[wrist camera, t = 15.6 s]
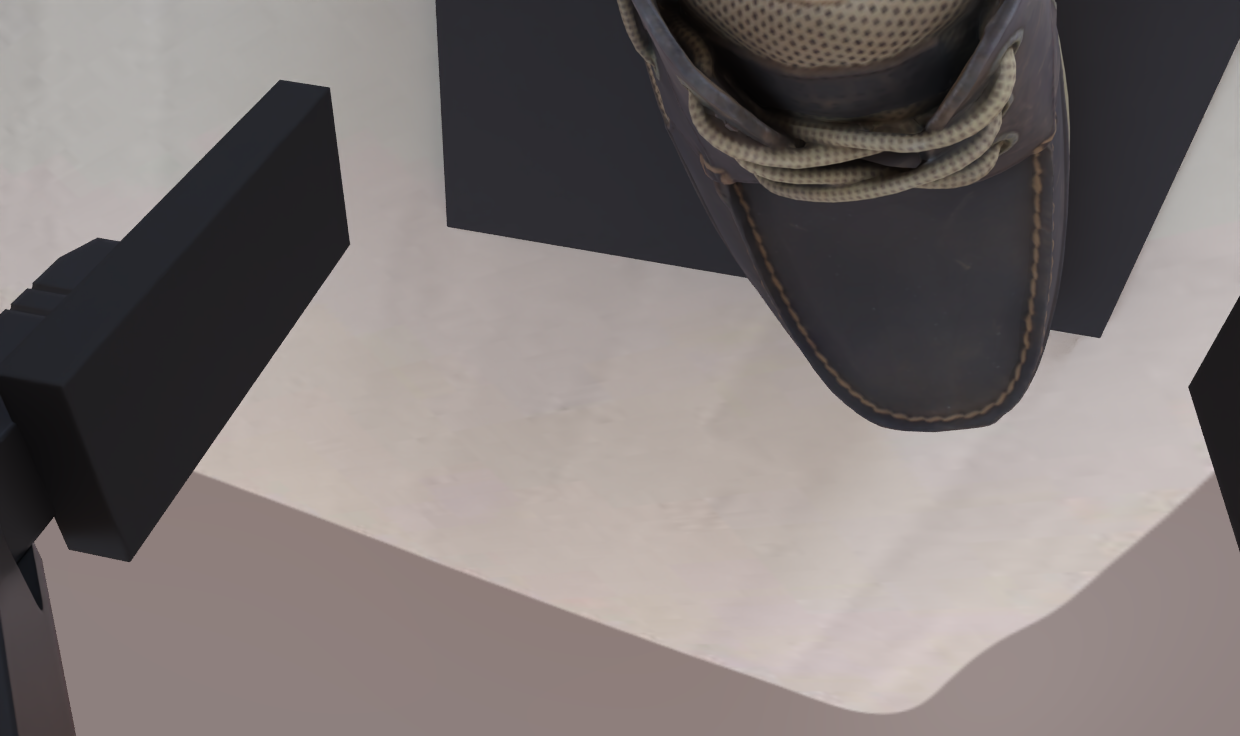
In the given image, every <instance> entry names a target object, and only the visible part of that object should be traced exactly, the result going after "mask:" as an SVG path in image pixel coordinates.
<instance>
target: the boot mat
mask: <svg viewBox="0 0 1240 736" xmlns="http://www.w3.org/2000/svg"><path fill="white" fill-rule="evenodd" d="M1055 2H1056V4H1057V18H1056V26H1057V30H1058V36H1059V40H1060V45H1061V51H1062V57H1063V63H1064V69H1065V76H1066V83H1067V91H1068V102H1069V122H1070V155H1069V157H1070V170H1069V194H1068V217H1067V229H1066V240H1065V251H1064V260H1063V268H1062V275H1061V282H1060V288H1059V294H1058V298H1057V303H1056V307H1055V311H1054V315H1053V319H1052V323H1051V328H1050V330H1055V331H1061V332H1067V333H1073V334H1079V335H1085V336H1091V337H1096V338H1100V337H1101V335H1102V333H1103V331H1104V329H1105V327H1106V325H1107V322H1108V320H1109V318H1110V316H1111V314H1112V312H1113V310H1114V307H1115V305H1116V303H1117V301H1118V299H1119V297H1120V295H1121V292H1122V290H1123V288H1124V286H1125V284H1126V282H1127V279H1128V277H1129V275H1130V273H1131V271H1132V269H1133V267H1134V264H1135V262H1136V260H1137V258H1138V256H1139V254H1140V251H1141V249H1142V247H1143V245H1144V243H1145V241H1146V239H1147V236H1148V234H1149V232H1150V230H1151V228H1152V226H1153V224H1154V221H1155V219H1156V217H1157V215H1158V213H1159V211H1160V208H1161V206H1162V204H1163V202H1164V200H1165V198H1166V196H1167V193H1168V191H1169V189H1170V187H1171V185H1172V183H1173V181H1174V178H1175V176H1176V174H1177V172H1178V170H1179V168H1180V165H1181V163H1182V161H1183V159H1184V157H1185V155H1186V153H1187V150H1188V148H1189V146H1190V144H1191V142H1192V140H1193V138H1194V135H1195V133H1196V131H1197V129H1198V127H1199V125H1200V122H1201V120H1202V118H1203V116H1204V114H1205V112H1206V110H1207V107H1208V105H1209V103H1210V101H1211V99H1212V97H1213V94H1214V92H1215V90H1216V88H1217V86H1218V84H1219V82H1220V79H1221V77H1222V75H1223V73H1224V71H1225V69H1226V67H1227V64H1228V62H1229V60H1230V58H1231V56H1232V54H1233V51H1234V49H1235V47H1236V45H1237V43H1238V41H1239V39H1240V0H1055ZM436 18H437V37H438V57H439V77H440V96H441V116H442V135H443V155H444V174H445V194H446V213H447V226H448V227H452V228H458V229H464V230H470V231H475V232H481V233H487V234H493V235H499V236H505V237H511V238H516V239H522V240H528V241H534V242H540V243H546V244H552V245H557V246H563V247H569V248H575V249H581V250H587V251H593V252H598V253H604V254H610V255H616V256H622V257H628V258H634V259H640V260H645V261H651V262H657V263H663V264H669V265H675V266H681V267H686V268H692V269H698V270H704V271H710V272H716V273H722V274H727V275H733V276H739V277H745V278H747V276H746V275H745V273H744V272H743V270H742V269H741V267H740V266H739V265H738V263H737V262H736V260H735V259H734V257H733V256H732V254H731V253H730V251H729V249H728V248H727V246H726V245H725V243H724V242H723V240H722V239H721V237H720V235H719V234H718V232H717V230H716V229H715V227H714V225H713V224H712V222H711V220H710V218H709V216H708V214H707V212H706V210H705V208H704V207H703V205H702V203H701V201H700V199H699V197H698V195H697V193H696V191H695V189H694V187H693V185H692V182H691V180H690V178H689V176H688V174H687V172H686V170H685V168H684V166H683V163H682V161H681V159H680V157H679V155H678V152H677V150H676V148H675V146H674V144H673V142H672V140H671V138H670V136H669V134H668V132H667V130H666V128H665V123H664V119H663V117H662V114H661V112H660V109H659V107H658V104H657V101H656V97H655V94H654V91H653V88H652V84H651V81H650V78H649V75H648V71H647V68H646V64H645V61H644V58H643V57H642V56H641V55H640V54H639V53H638V52H637V51H636V49H635V47H634V45H633V43H632V41H631V39H630V38H629V36H628V33H627V31H626V28H625V26H624V23H623V20H622V17H621V13H620V10H619V6H618V3H617V0H436Z"/></svg>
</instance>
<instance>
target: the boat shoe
mask: <svg viewBox="0 0 1240 736" xmlns="http://www.w3.org/2000/svg"><path fill="white" fill-rule="evenodd" d="M617 3H618V6H619V10H620V13H621V17H622V20H623V23H624V26H625V28H626V31H627V33H628V36H629V38H630V39H631V41H632V43H633V45H634V47H635V49H636V51H637V52H638V53H639V54H640V55H641V56H642V57H643V58H644V61H645V64H646V68H647V71H648V75H649V78H650V81H651V84H652V88H653V91H654V94H655V97H656V101H657V104H658V107H659V109H660V112H661V114H662V117H663V119H664V123H665V128H666V130H667V132H668V134H669V136H670V138H671V140H672V142H673V144H674V146H675V148H676V150H677V152H678V155H679V157H680V159H681V161H682V163H683V166H684V168H685V170H686V172H687V174H688V176H689V178H690V180H691V182H692V185H693V187H694V189H695V191H696V193H697V195H698V197H699V199H700V201H701V203H702V205H703V207H704V208H705V210H706V212H707V214H708V216H709V218H710V220H711V222H712V224H713V225H714V227H715V229H716V230H717V232H718V234H719V235H720V237H721V239H722V240H723V242H724V243H725V245H726V246H727V248H728V249H729V251H730V253H731V254H732V256H733V257H734V259H735V260H736V262H737V263H738V265H739V266H740V267H741V269H742V270H743V272H744V273H745V275H746V276H747V278H748V279H749V281H750V282H751V283H752V285H753V286H754V287H755V288H756V289H757V291H758V292H759V294H760V295H761V296H762V298H763V299H764V301H765V302H766V303H767V305H768V306H769V308H770V309H771V311H772V312H773V313H774V315H775V316H776V317H777V319H778V320H779V322H780V323H781V324H782V326H783V327H784V329H785V330H786V331H787V333H788V334H789V335H790V337H791V338H792V339H793V341H794V342H795V343H796V344H797V346H798V347H799V348H800V350H801V351H802V353H803V354H804V356H805V357H806V358H807V360H808V361H809V363H810V364H811V366H812V367H813V369H814V370H815V371H816V373H817V374H818V375H819V376H820V378H821V379H822V380H823V382H824V383H825V384H826V385H827V387H828V388H829V389H830V390H831V391H832V392H833V393H834V394H835V395H836V396H837V397H838V398H839V399H840V400H842V401H843V402H844V403H845V404H846V405H847V406H849V407H850V408H851V409H853V410H854V411H855V412H856V413H857V414H859V415H860V416H862V417H864V418H865V419H867V420H868V421H870V422H872V423H874V424H877V425H879V426H881V427H885V428H889V429H894V430H901V431H917V432H940V431H951V430H961V429H970V428H979V427H985V426H989V425H991V424H993V423H995V422H997V421H998V420H999V419H1000V418H1001V417H1002V416H1003V415H1004V414H1006V413H1007V412H1009V411H1010V410H1011V409H1012V408H1013V407H1014V406H1015V405H1016V404H1017V403H1018V402H1019V401H1020V400H1021V398H1022V397H1023V395H1024V394H1025V392H1026V391H1027V389H1028V387H1029V385H1030V383H1031V381H1032V379H1033V377H1034V375H1035V373H1036V371H1037V369H1038V366H1039V363H1040V361H1041V358H1042V355H1043V352H1044V349H1045V346H1046V343H1047V339H1048V336H1049V333H1050V328H1051V323H1052V319H1053V315H1054V311H1055V307H1056V303H1057V298H1058V294H1059V288H1060V282H1061V275H1062V268H1063V260H1064V251H1065V240H1066V229H1067V217H1068V194H1069V170H1070V157H1069V155H1070V122H1069V102H1068V91H1067V83H1066V76H1065V69H1064V63H1063V57H1062V51H1061V45H1060V40H1059V36H1058V30H1057V26H1056V18H1057V4H1056V2H1055V0H617Z"/></svg>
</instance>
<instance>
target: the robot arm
mask: <svg viewBox="0 0 1240 736" xmlns="http://www.w3.org/2000/svg"><path fill="white" fill-rule="evenodd" d="M349 245H350V241H349V233H348V225H347V217H346V210H345V202H344V194H343V186H342V179H341V171H340V163H339V155H338V147H337V140H336V132H335V124H334V116H333V109H332V101H331V93H330V88H329V87H323V86H316V85H310V84H303V83H297V82H290V81H284V80H279V81H278V82H277V83H276V84H275V85H274V86H273V87H272V88H271V89H270V90H269V91H268V92H267V93H266V94H265V95H264V96H263V97H262V98H261V100H260V101H259V102H258V103H257V104H256V105H255V106H254V107H253V108H252V109H251V110H250V111H249V112H248V113H247V114H246V115H245V116H244V117H243V118H242V119H241V120H240V121H239V122H238V123H237V124H236V125H235V126H234V127H233V128H232V129H231V130H230V131H229V132H228V133H227V134H226V135H225V136H224V137H223V138H222V139H221V140H220V141H219V142H218V143H217V144H216V145H215V146H214V147H213V148H212V149H211V150H210V151H209V152H208V153H207V154H206V155H205V156H204V157H203V158H202V159H201V160H200V161H199V162H198V163H197V164H196V165H195V166H194V167H193V168H192V169H191V170H190V171H189V172H188V173H187V174H186V175H185V176H184V178H183V179H182V180H181V181H180V182H179V183H178V184H177V185H176V186H175V187H174V188H173V189H172V190H171V191H170V192H169V193H168V194H167V195H166V196H165V197H164V198H163V199H162V200H161V201H160V202H159V203H158V204H157V205H156V206H155V207H154V208H153V209H152V210H151V211H150V212H149V213H148V214H147V215H146V216H145V217H144V218H143V219H142V220H141V221H140V222H139V223H138V224H137V225H136V226H135V227H134V228H133V229H132V230H131V231H130V232H129V233H128V234H127V235H126V236H125V237H124V238H123V239H122V240H121V241H120V242H119V241H114V240H108V239H102V238H96V239H94V240H92V241H90V242H88V243H87V244H85V245H83V246H81V247H79V248H77V249H75V250H73V251H71V252H69V253H67V254H65V255H63V256H62V257H60V258H58V259H57V260H56V261H55V262H54V263H53V264H52V265H51V266H50V267H49V268H48V269H47V270H46V271H45V272H44V273H43V274H42V275H41V276H40V277H39V278H37V279H36V280H35V281H34V282H33V283H32V284H33V287H32V289H28V288H27V289H26V290H25V291H24V292H23V293H22V294H21V295H20V296H19V297H18V298H17V299H16V300H15V301H13V302H12V303H11V309H10V310H7V309H5V310H4V311H3V312H2V313H1V314H0V736H76V733H75V728H74V723H73V717H72V712H71V707H70V702H69V697H68V692H67V686H66V681H65V677H64V671H63V666H62V661H61V655H60V650H59V645H58V640H57V635H56V630H55V625H54V619H53V614H52V609H51V604H50V599H49V593H48V588H47V583H46V579H45V573H44V568H43V562H42V558H41V556H40V554H39V552H38V550H37V548H36V546H35V544H34V541H35V540H36V539H37V537H38V536H39V535H40V534H41V532H42V531H43V530H44V529H45V527H46V526H47V525H48V524H49V522H50V521H51V520H52V519H53V517H55V520H56V522H57V524H58V526H59V529H60V531H61V533H62V535H63V538H64V540H65V542H66V544H67V547H68V549H69V550H74V551H78V552H83V553H88V554H93V555H98V556H102V557H108V558H112V559H117V560H122V561H127V562H130V561H131V560H132V559H133V557H134V556H135V554H136V553H137V551H138V550H139V548H140V547H141V546H142V544H143V543H144V541H145V540H146V538H147V537H148V535H149V534H150V533H151V531H152V530H153V528H154V527H155V525H156V524H157V522H158V521H159V519H160V518H161V517H162V515H163V514H164V512H165V511H166V509H167V508H168V506H169V505H170V504H171V502H172V501H173V499H174V498H175V496H176V495H177V494H178V492H179V491H180V489H181V488H182V486H183V485H184V483H185V482H186V481H187V479H188V478H189V476H190V475H191V473H192V472H193V470H194V469H195V468H196V466H197V465H198V463H199V462H200V460H201V459H202V457H203V456H204V455H205V453H206V452H207V450H208V449H209V447H210V446H211V444H212V443H213V442H214V440H215V439H216V437H217V436H218V434H219V433H220V432H221V430H222V429H223V427H224V426H225V424H226V423H227V421H228V420H229V419H230V417H231V416H232V414H233V413H234V411H235V410H236V408H237V407H238V406H239V404H240V403H241V401H242V400H243V398H244V397H245V395H246V394H247V393H248V391H249V390H250V388H251V387H252V385H253V384H254V382H255V381H256V380H257V378H258V377H259V375H260V374H261V372H262V371H263V369H264V368H265V367H266V365H267V364H268V362H269V361H270V359H271V358H272V356H273V355H274V354H275V352H276V351H277V349H278V348H279V346H280V345H281V343H282V342H283V341H284V339H285V338H286V336H287V335H288V333H289V332H290V330H291V329H292V328H293V326H294V325H295V323H296V322H297V320H298V319H299V317H300V316H301V315H302V313H303V312H304V310H305V309H306V307H307V306H308V304H309V303H310V302H311V300H312V299H313V297H314V296H315V294H316V293H317V291H318V290H319V289H320V287H321V286H322V284H323V283H324V281H325V280H326V278H327V277H328V276H329V274H330V273H331V271H332V270H333V268H334V267H335V265H336V264H337V263H338V261H339V260H340V258H341V257H342V255H343V254H344V252H345V251H346V250H347V248H348V247H349ZM1188 388H1189V391H1190V394H1191V397H1192V400H1193V404H1194V407H1195V410H1196V413H1197V416H1198V420H1199V423H1200V426H1201V429H1202V432H1203V436H1204V439H1205V442H1206V445H1207V448H1208V452H1209V455H1210V458H1211V461H1212V464H1213V468H1214V471H1215V474H1216V477H1217V480H1218V483H1219V487H1220V490H1221V493H1222V496H1223V499H1224V502H1225V506H1226V509H1227V512H1228V515H1229V519H1230V522H1231V525H1232V528H1233V531H1234V535H1235V538H1236V541H1237V544H1238V547H1239V551H1240V296H1239V298H1238V300H1237V302H1236V303H1235V305H1234V307H1233V309H1232V311H1231V312H1230V314H1229V316H1228V318H1227V319H1226V321H1225V323H1224V325H1223V326H1222V328H1221V330H1220V332H1219V334H1218V335H1217V337H1216V339H1215V341H1214V342H1213V344H1212V346H1211V348H1210V350H1209V351H1208V353H1207V355H1206V357H1205V358H1204V360H1203V362H1202V364H1201V365H1200V367H1199V369H1198V371H1197V373H1196V374H1195V376H1194V378H1193V380H1192V381H1191V383H1190V385H1189V387H1188Z"/></svg>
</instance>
